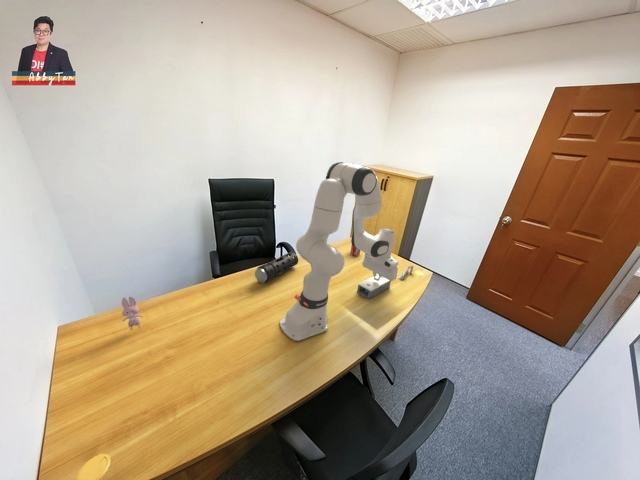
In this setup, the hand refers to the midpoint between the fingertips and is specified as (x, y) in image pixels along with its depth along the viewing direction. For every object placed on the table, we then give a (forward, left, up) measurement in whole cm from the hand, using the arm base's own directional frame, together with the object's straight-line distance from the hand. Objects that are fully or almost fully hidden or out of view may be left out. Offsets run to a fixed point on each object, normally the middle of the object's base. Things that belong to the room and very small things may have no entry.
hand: (376, 280), depth 128 cm
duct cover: (0, +5, -2) cm, 5 cm away
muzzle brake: (-36, +44, -7) cm, 57 cm away
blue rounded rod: (0, +1, -6) cm, 6 cm away
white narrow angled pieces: (+31, +2, -8) cm, 32 cm away
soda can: (+26, +37, -7) cm, 46 cm away
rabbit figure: (-103, +40, -7) cm, 111 cm away
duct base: (0, +1, -7) cm, 7 cm away
